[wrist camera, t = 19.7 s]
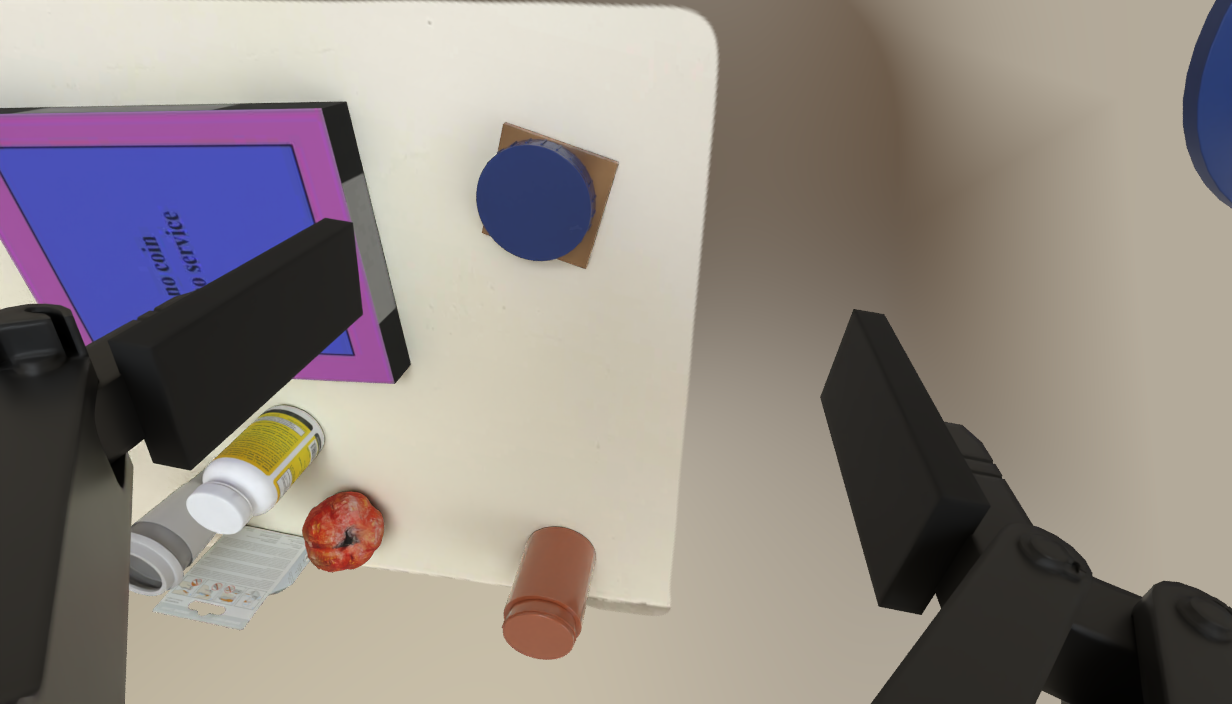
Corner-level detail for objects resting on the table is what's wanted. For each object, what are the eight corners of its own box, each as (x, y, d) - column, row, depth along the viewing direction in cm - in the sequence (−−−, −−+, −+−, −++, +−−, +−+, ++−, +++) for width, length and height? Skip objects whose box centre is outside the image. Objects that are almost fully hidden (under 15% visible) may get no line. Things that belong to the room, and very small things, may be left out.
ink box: (318, 553, 66) (250, 649, 56) (238, 537, 67) (157, 629, 57) (314, 535, 65) (244, 630, 55) (233, 519, 65) (149, 610, 55)
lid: (475, 230, 43) (466, 239, 42) (496, 120, 39) (487, 125, 37) (578, 267, 44) (573, 277, 42) (611, 162, 39) (607, 169, 38)
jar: (604, 540, 59) (587, 627, 51) (585, 583, 63) (566, 671, 54) (535, 517, 58) (507, 601, 50) (520, 562, 62) (491, 647, 54)
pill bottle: (251, 409, 56) (159, 491, 47) (303, 396, 55) (218, 479, 45) (288, 459, 59) (208, 546, 50) (339, 448, 57) (266, 536, 48)
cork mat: (619, 161, 40) (617, 164, 39) (587, 266, 44) (585, 269, 44) (505, 121, 40) (502, 123, 39) (484, 230, 44) (481, 233, 43)
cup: (188, 448, 60) (81, 539, 50) (249, 455, 60) (153, 550, 49) (210, 499, 64) (115, 594, 54) (268, 507, 63) (182, 605, 53)
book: (394, 383, 48) (75, 368, 52) (410, 364, 51) (104, 351, 55) (321, 108, 38) (-72, 115, 42) (346, 101, 40) (-27, 108, 44)
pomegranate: (379, 523, 66) (411, 552, 58) (314, 567, 62) (340, 605, 54) (346, 469, 63) (375, 491, 55) (276, 511, 59) (297, 542, 51)
